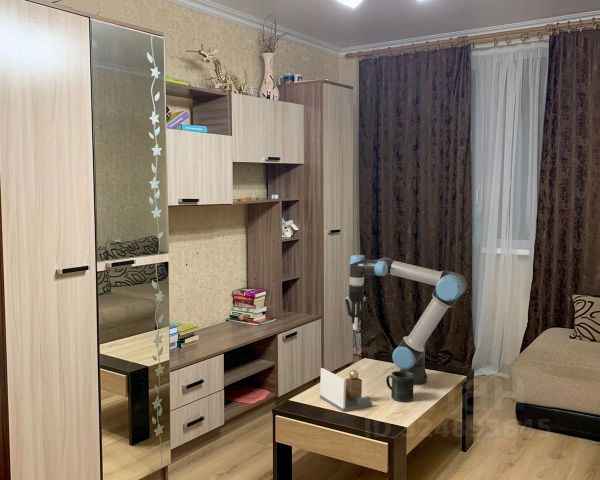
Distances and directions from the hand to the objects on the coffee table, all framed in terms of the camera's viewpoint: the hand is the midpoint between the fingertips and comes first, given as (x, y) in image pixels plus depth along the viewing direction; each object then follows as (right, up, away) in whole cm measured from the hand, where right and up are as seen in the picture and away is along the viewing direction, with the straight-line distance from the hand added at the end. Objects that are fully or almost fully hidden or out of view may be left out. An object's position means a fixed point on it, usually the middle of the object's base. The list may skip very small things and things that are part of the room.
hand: (355, 329), depth 320 cm
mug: (+19, -29, -26) cm, 43 cm away
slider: (-4, -27, -32) cm, 43 cm away
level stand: (-7, -29, -33) cm, 45 cm away
